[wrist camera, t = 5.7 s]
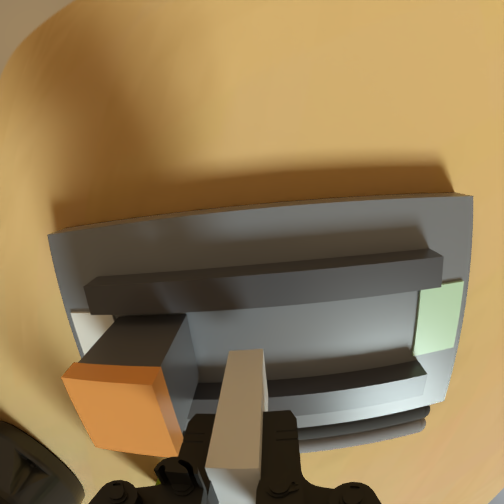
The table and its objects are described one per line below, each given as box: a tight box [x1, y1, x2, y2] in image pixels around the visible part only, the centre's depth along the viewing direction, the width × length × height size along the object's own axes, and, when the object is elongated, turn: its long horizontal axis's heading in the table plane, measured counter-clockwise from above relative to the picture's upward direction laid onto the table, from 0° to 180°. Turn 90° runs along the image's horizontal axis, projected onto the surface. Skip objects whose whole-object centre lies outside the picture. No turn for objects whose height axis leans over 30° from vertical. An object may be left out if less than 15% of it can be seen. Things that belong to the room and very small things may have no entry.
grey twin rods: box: [182, 405, 430, 453], centre depth 21 cm, size 23×3×1 cm, turn 96°
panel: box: [48, 193, 473, 431], centre depth 17 cm, size 24×14×4 cm, turn 96°
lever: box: [61, 314, 200, 457], centre depth 14 cm, size 4×4×6 cm
